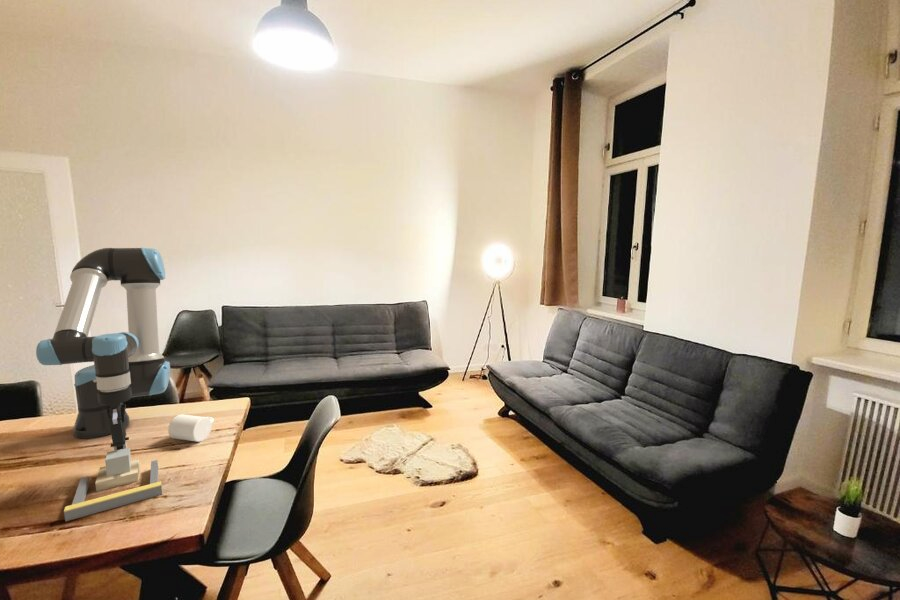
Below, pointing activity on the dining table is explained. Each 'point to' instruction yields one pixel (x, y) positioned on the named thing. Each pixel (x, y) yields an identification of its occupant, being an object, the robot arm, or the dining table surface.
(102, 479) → the pallet
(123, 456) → the light grey cube
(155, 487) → the dock
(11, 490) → the dining table surface
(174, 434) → the mug
